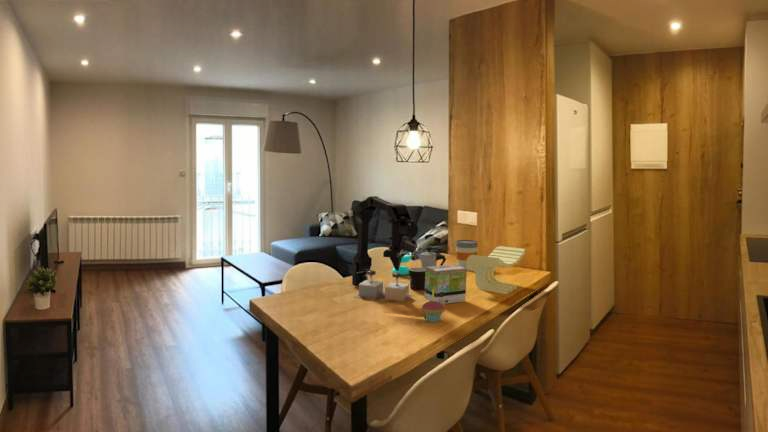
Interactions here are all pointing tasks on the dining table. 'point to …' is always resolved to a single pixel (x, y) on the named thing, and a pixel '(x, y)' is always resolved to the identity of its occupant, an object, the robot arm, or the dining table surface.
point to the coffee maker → (430, 258)
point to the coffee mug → (417, 278)
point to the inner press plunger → (370, 272)
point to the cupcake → (433, 309)
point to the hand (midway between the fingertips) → (397, 270)
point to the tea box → (445, 283)
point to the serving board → (382, 298)
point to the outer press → (396, 291)
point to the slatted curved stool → (487, 264)
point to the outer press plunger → (396, 277)
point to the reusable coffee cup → (465, 251)
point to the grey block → (370, 289)
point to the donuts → (403, 269)
